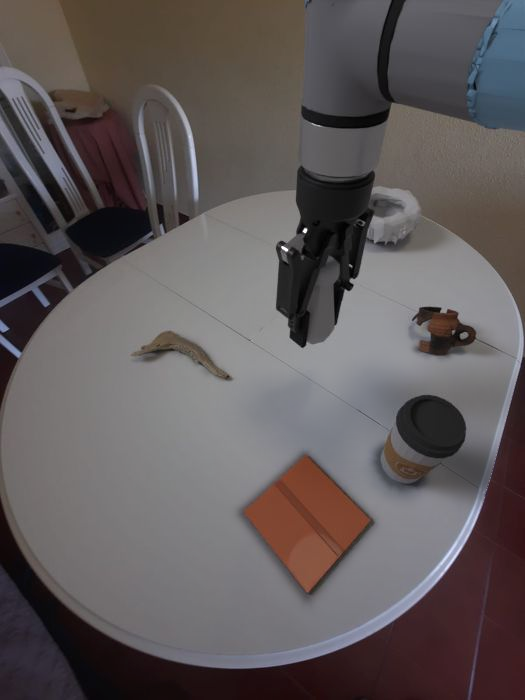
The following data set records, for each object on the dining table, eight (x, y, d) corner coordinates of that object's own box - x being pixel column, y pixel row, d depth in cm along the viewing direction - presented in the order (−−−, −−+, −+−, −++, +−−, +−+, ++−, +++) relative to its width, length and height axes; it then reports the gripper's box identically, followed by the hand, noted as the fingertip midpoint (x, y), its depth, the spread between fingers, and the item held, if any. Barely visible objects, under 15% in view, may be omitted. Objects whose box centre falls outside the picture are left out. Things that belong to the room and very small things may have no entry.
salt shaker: (320, 354, 48) (333, 282, 38) (286, 338, 51) (290, 266, 41) (338, 330, 52) (355, 257, 42) (305, 315, 54) (313, 243, 44)
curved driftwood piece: (153, 331, 74) (151, 324, 73) (242, 349, 71) (242, 342, 70) (132, 360, 68) (129, 353, 67) (228, 382, 65) (227, 375, 63)
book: (370, 521, 49) (371, 519, 48) (307, 594, 44) (307, 593, 43) (305, 456, 55) (305, 453, 55) (243, 512, 50) (243, 510, 49)
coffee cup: (369, 479, 53) (396, 437, 41) (378, 433, 58) (404, 383, 46) (425, 500, 51) (470, 461, 39) (429, 450, 56) (471, 402, 44)
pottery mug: (402, 348, 70) (410, 309, 67) (413, 338, 77) (421, 302, 75) (468, 363, 64) (479, 320, 61) (474, 350, 71) (484, 312, 68)
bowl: (430, 242, 94) (445, 207, 86) (370, 263, 88) (380, 227, 81) (382, 209, 106) (391, 176, 98) (326, 225, 100) (331, 191, 93)
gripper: (367, 132, 38) (337, 291, 56) (235, 183, 31) (248, 348, 48) (426, 151, 35) (373, 315, 52) (292, 214, 27) (283, 380, 45)
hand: (313, 330), depth 50 cm, fingers closed on salt shaker, 6 cm apart
